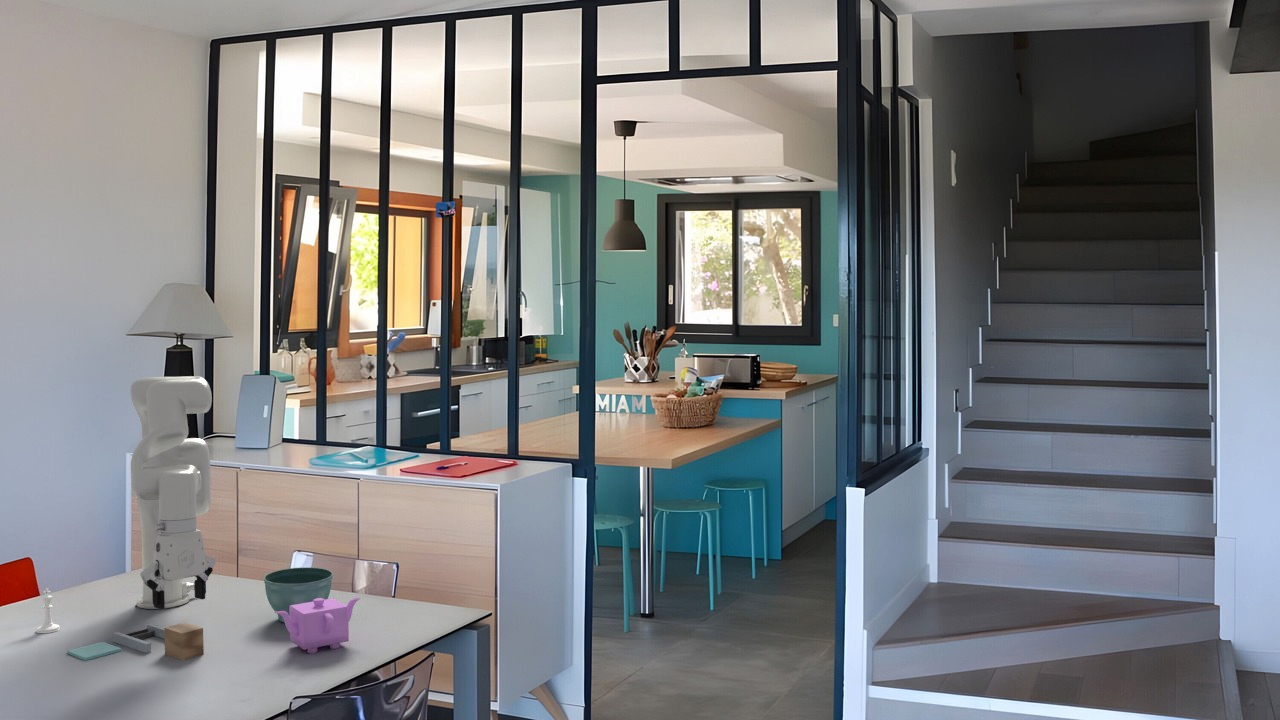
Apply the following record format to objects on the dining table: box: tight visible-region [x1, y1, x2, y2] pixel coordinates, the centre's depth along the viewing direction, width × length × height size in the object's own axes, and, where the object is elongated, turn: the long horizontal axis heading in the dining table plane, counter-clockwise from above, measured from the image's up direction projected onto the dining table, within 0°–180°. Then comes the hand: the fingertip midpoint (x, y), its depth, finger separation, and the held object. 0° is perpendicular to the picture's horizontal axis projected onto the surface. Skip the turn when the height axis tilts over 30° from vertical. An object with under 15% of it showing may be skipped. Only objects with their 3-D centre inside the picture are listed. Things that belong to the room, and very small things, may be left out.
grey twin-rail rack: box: [112, 623, 165, 654], centre depth 247 cm, size 9×14×2 cm, turn 54°
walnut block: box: [163, 622, 205, 661], centre depth 239 cm, size 5×7×6 cm
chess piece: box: [36, 588, 61, 634], centre depth 256 cm, size 5×5×10 cm
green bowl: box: [263, 566, 334, 623], centre depth 266 cm, size 16×16×11 cm
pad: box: [66, 641, 122, 661], centre depth 240 cm, size 8×8×1 cm
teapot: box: [274, 597, 362, 654], centre depth 244 cm, size 15×13×11 cm
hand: (179, 603), depth 239 cm, fingers open, 9 cm apart
